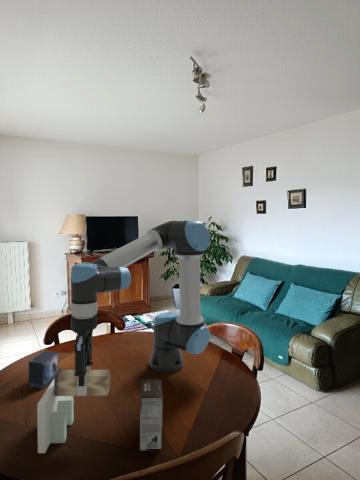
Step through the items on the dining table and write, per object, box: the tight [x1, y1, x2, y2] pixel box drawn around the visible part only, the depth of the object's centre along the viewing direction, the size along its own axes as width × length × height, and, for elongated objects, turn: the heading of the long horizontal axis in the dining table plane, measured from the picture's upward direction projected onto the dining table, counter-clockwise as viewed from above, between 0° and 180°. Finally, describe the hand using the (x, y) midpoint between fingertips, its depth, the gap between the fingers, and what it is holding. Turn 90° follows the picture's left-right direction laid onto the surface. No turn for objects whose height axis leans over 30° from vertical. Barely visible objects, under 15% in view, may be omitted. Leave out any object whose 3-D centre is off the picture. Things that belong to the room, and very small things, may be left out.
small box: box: [28, 350, 59, 390], centre depth 125 cm, size 11×6×10 cm, turn 168°
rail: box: [54, 368, 111, 397], centre depth 96 cm, size 16×4×6 cm, turn 94°
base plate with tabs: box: [36, 380, 75, 454], centre depth 96 cm, size 6×18×14 cm, turn 4°
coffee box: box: [139, 379, 163, 451], centre depth 93 cm, size 9×6×16 cm
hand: (84, 390), depth 96 cm, fingers closed on rail, 4 cm apart
